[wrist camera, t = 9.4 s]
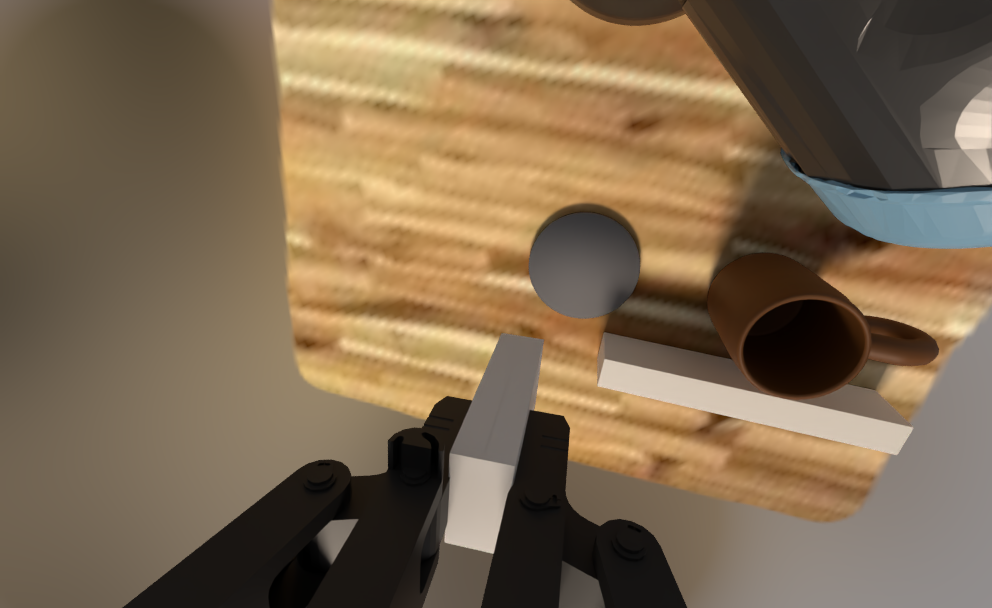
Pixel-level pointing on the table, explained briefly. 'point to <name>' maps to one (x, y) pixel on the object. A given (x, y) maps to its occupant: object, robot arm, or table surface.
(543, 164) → the table surface
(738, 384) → the board
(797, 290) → the mug
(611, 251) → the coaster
